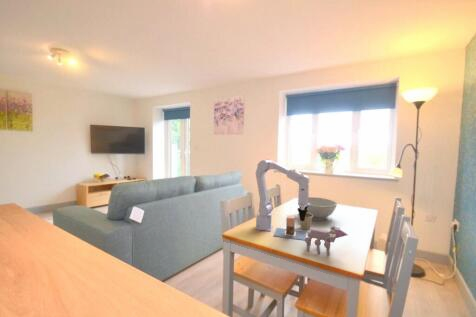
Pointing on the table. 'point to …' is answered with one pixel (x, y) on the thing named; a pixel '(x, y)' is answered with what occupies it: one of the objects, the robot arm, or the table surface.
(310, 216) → the flower pot
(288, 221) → the terracotta block
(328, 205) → the decorative bowl
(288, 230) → the walnut block
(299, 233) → the board
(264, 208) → the robot arm
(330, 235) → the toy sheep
